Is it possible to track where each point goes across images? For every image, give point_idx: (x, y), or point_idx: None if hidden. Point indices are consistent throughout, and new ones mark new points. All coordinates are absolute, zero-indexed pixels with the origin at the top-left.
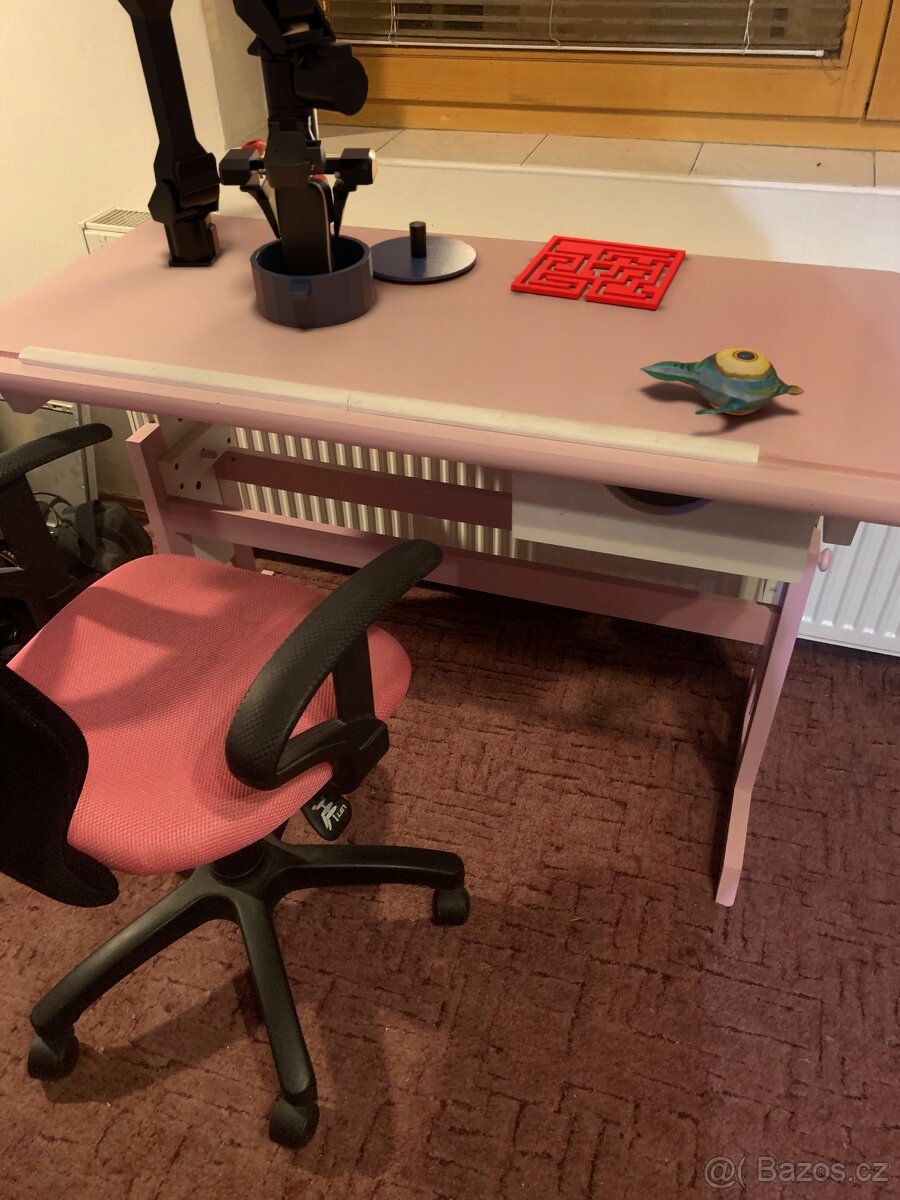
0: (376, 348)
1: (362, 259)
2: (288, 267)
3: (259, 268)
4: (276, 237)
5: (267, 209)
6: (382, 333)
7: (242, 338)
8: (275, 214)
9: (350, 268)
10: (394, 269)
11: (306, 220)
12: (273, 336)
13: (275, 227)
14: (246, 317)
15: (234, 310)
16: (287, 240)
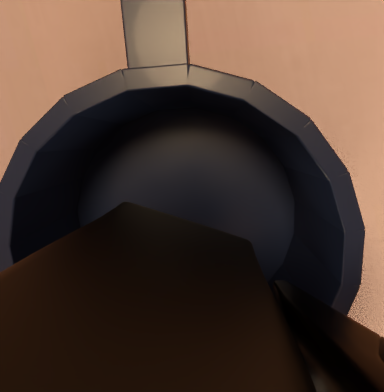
0: (5, 6)
1: (5, 232)
2: (239, 237)
3: (316, 144)
4: (286, 282)
5: (378, 359)
6: (15, 82)
7: (308, 30)
8: (314, 366)
9: (16, 160)
10: None
11: (113, 288)
12: (239, 47)
13: (297, 300)
14: None
15: (353, 175)
16: (239, 270)
